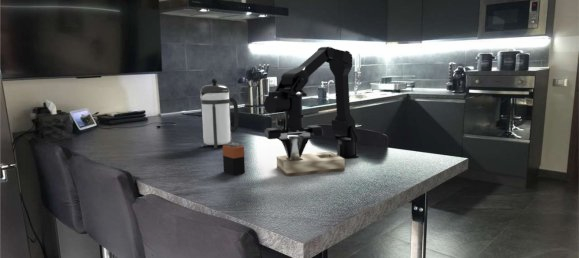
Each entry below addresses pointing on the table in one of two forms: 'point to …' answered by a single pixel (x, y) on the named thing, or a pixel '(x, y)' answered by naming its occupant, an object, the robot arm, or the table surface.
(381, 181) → the table surface
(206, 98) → the coffee press
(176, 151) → the table surface
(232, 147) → the battery
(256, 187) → the table surface
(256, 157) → the table surface
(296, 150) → the pin
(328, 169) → the bore block
